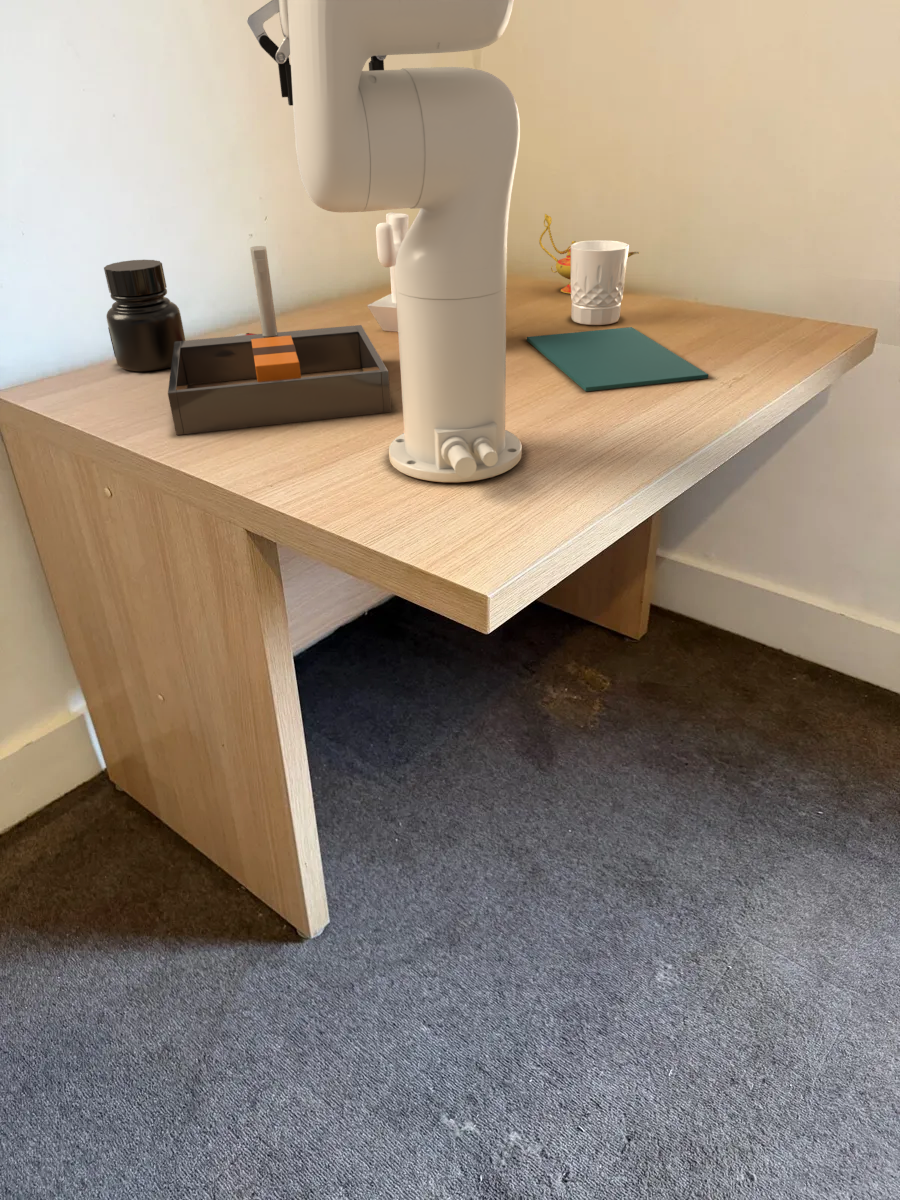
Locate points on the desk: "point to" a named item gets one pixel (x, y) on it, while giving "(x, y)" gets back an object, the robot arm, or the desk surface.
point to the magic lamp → (563, 264)
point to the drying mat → (614, 359)
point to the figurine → (387, 251)
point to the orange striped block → (275, 358)
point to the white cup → (597, 281)
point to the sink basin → (278, 396)
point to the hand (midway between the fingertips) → (334, 103)
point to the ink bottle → (142, 316)
